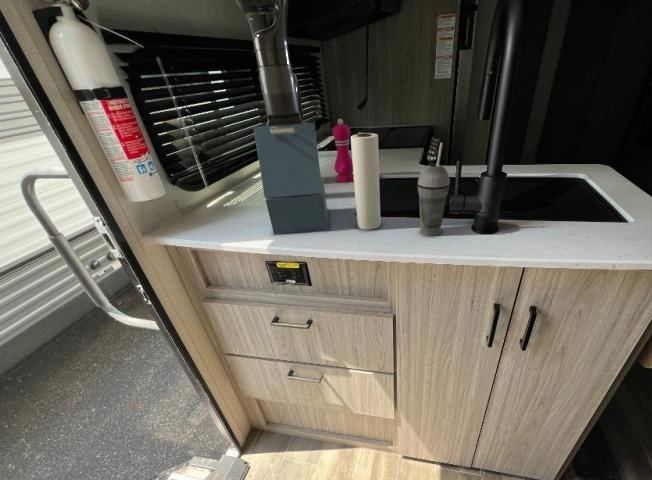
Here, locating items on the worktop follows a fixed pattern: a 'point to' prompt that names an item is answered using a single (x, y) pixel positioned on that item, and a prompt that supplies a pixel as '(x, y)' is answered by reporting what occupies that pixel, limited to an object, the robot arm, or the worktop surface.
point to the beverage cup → (432, 196)
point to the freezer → (298, 213)
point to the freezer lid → (288, 160)
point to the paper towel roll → (366, 179)
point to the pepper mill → (343, 153)
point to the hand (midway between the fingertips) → (293, 170)
